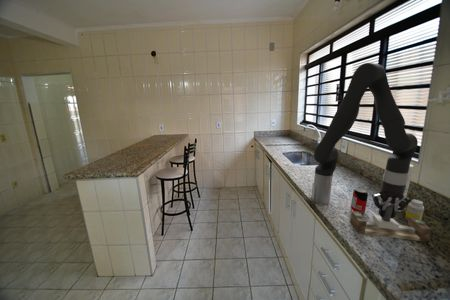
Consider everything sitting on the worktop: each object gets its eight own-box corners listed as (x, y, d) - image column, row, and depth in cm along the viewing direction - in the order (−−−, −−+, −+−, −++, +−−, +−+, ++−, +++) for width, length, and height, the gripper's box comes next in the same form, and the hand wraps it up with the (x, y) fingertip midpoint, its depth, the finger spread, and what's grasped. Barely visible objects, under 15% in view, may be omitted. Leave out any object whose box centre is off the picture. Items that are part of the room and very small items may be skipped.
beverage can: (365, 215, 97) (369, 194, 94) (350, 211, 100) (354, 191, 97) (364, 209, 102) (367, 189, 99) (350, 206, 105) (353, 186, 102)
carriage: (379, 227, 83) (383, 208, 80) (372, 219, 88) (376, 201, 86) (398, 229, 81) (402, 210, 79) (389, 221, 87) (394, 202, 84)
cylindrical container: (396, 212, 99) (407, 167, 93) (382, 205, 106) (391, 162, 100) (406, 210, 101) (417, 165, 95) (391, 203, 108) (401, 161, 101)
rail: (356, 232, 84) (359, 220, 83) (349, 221, 92) (351, 210, 90) (427, 241, 78) (431, 228, 77) (414, 229, 86) (417, 217, 84)
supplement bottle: (411, 216, 95) (416, 198, 93) (423, 223, 90) (429, 204, 88) (401, 217, 95) (406, 198, 92) (413, 224, 90) (418, 204, 87)
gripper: (379, 183, 77) (372, 220, 82) (421, 186, 74) (411, 224, 79) (370, 176, 85) (364, 210, 89) (408, 178, 81) (399, 214, 86)
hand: (386, 216), depth 84 cm, fingers closed on carriage, 3 cm apart
